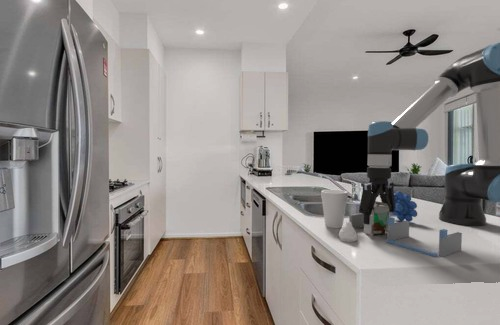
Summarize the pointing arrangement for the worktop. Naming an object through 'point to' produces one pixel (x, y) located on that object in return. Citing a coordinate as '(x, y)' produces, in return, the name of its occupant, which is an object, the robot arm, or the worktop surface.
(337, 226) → the foam cup
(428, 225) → the worktop surface
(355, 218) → the blue-edged channel bracket
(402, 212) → the grapes
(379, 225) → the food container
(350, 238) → the garlic bulb
